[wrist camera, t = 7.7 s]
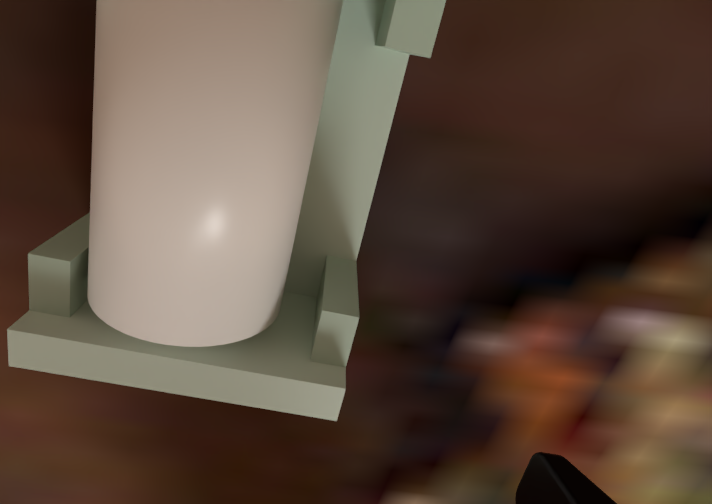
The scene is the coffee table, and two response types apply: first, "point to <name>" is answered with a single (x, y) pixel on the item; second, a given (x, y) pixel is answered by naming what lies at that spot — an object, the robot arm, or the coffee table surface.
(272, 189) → the cylinder
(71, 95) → the coffee table surface
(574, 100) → the coffee table surface
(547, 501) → the robot arm
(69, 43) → the coffee table surface
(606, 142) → the coffee table surface
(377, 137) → the cradle
